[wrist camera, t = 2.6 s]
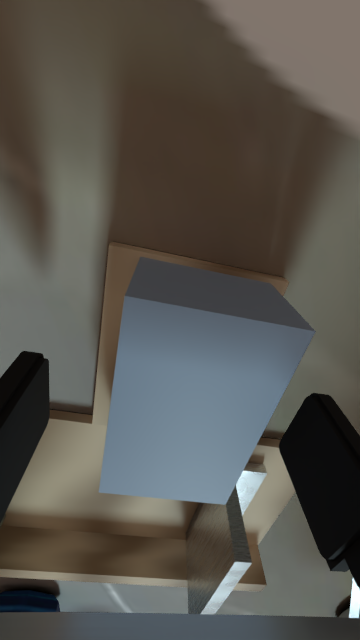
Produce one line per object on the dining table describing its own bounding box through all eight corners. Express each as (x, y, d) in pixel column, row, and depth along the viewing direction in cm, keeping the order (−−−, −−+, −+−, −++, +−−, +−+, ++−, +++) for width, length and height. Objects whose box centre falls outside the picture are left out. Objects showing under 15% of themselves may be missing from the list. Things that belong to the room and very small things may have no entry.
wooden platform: (412, 304, 13) (591, 399, 7) (248, 547, 23) (271, 659, 18) (-168, 182, 10) (-592, 189, 4) (-53, 523, 20) (-134, 649, 15)
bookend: (264, 464, 17) (297, 566, 12) (223, 536, 21) (236, 632, 16) (218, 458, 16) (235, 561, 12) (185, 533, 21) (189, 631, 16)
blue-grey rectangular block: (270, 283, 11) (315, 331, 8) (213, 429, 15) (225, 504, 12) (139, 256, 11) (122, 295, 7) (115, 416, 15) (97, 492, 11)
